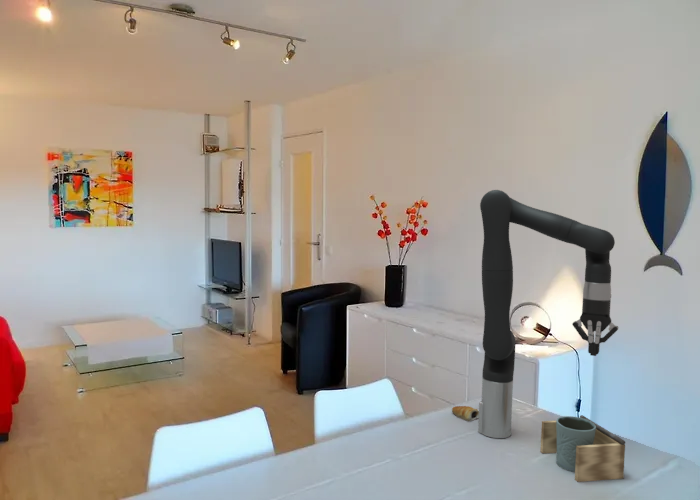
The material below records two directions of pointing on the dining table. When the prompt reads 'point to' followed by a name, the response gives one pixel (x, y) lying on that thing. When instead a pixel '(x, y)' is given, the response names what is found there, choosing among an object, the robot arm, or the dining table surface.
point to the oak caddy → (590, 453)
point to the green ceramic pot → (572, 439)
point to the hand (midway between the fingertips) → (593, 355)
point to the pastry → (466, 412)
